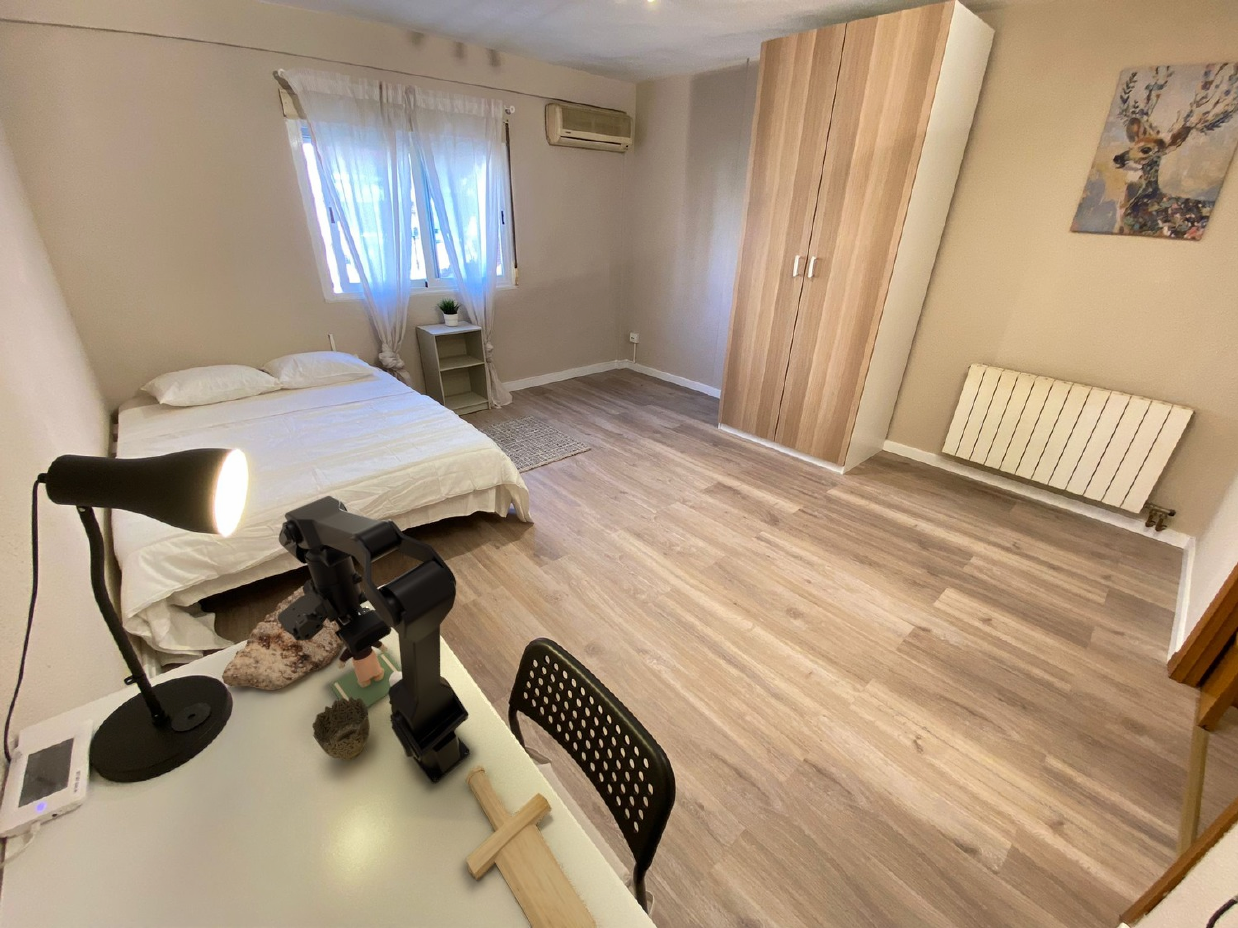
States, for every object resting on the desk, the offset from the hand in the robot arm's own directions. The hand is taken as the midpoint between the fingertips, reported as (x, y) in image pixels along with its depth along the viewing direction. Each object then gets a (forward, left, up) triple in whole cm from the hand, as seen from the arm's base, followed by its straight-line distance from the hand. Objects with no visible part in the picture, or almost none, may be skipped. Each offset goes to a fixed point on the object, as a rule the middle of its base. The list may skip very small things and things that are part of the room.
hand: (357, 644), depth 85 cm
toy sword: (-28, -3, -8) cm, 29 cm away
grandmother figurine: (0, 0, -9) cm, 9 cm away
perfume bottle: (-12, -3, -10) cm, 16 cm away
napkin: (0, 0, -10) cm, 10 cm away
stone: (+23, +8, -6) cm, 25 cm away
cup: (-10, +8, -10) cm, 16 cm away
